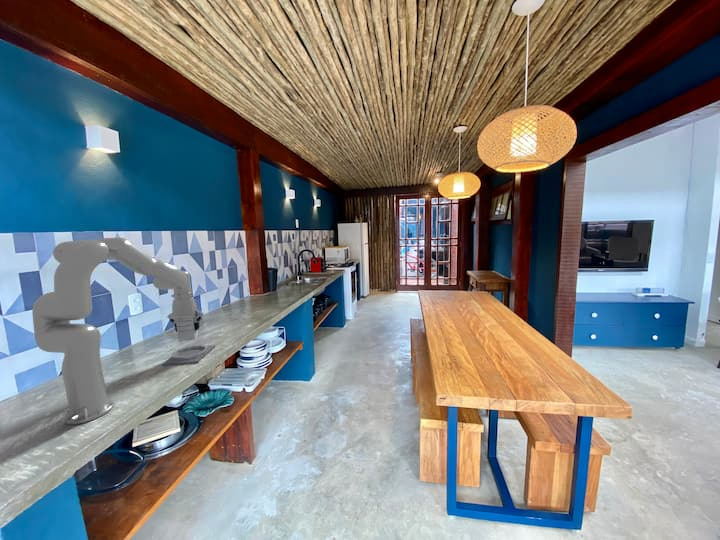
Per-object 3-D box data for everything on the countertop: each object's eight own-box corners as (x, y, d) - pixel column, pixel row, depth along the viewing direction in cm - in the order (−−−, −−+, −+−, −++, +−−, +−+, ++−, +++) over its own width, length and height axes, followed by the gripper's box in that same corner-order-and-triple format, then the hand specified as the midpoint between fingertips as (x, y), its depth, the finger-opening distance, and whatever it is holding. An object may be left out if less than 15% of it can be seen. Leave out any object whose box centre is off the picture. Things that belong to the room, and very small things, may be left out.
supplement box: (182, 336, 145) (179, 312, 143) (198, 334, 147) (195, 311, 146) (178, 341, 138) (174, 316, 136) (195, 339, 140) (192, 314, 139)
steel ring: (199, 359, 137) (199, 356, 137) (165, 361, 135) (165, 358, 135) (212, 346, 152) (212, 343, 152) (182, 348, 151) (182, 346, 150)
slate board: (198, 363, 135) (197, 361, 134) (162, 365, 133) (162, 363, 133) (215, 346, 154) (215, 344, 154) (184, 349, 153) (184, 347, 153)
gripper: (160, 299, 135) (165, 334, 138) (198, 296, 137) (202, 331, 139) (169, 295, 143) (173, 329, 145) (205, 293, 144) (209, 326, 147)
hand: (187, 330), depth 142 cm, fingers closed on supplement box, 8 cm apart
